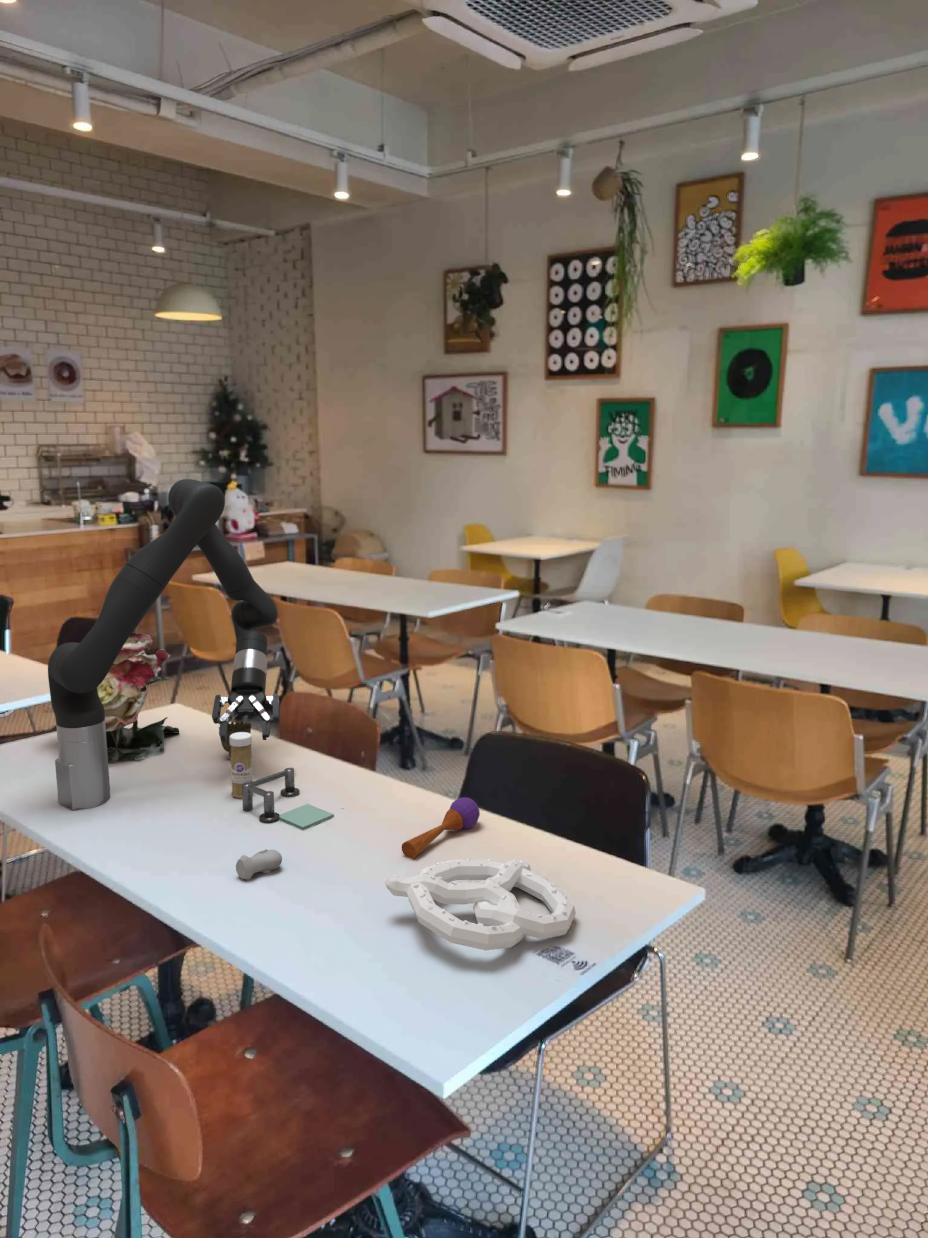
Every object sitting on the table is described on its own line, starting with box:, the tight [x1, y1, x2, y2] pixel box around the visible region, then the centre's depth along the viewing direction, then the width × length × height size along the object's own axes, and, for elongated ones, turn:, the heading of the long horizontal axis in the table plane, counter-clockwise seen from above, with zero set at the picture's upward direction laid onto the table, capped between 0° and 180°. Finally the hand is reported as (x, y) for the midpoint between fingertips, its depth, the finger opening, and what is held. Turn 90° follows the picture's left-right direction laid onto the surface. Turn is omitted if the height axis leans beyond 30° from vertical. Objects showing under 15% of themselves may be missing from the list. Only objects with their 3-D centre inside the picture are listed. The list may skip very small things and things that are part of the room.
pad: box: [278, 803, 335, 831], centre depth 176 cm, size 8×8×1 cm
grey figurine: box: [235, 848, 283, 881], centre depth 153 cm, size 4×8×5 cm
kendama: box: [401, 796, 481, 860], centre depth 167 cm, size 6×6×20 cm
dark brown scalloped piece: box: [218, 720, 252, 759], centre depth 208 cm, size 8×7×8 cm
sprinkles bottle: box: [230, 732, 254, 799], centre depth 185 cm, size 5×5×14 cm
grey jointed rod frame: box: [241, 767, 301, 824], centre depth 181 cm, size 15×11×6 cm
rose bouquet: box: [97, 631, 180, 765], centre depth 210 cm, size 26×29×30 cm
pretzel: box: [384, 857, 576, 951], centre depth 139 cm, size 28×24×6 cm
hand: (244, 739), depth 189 cm, fingers open, 8 cm apart
